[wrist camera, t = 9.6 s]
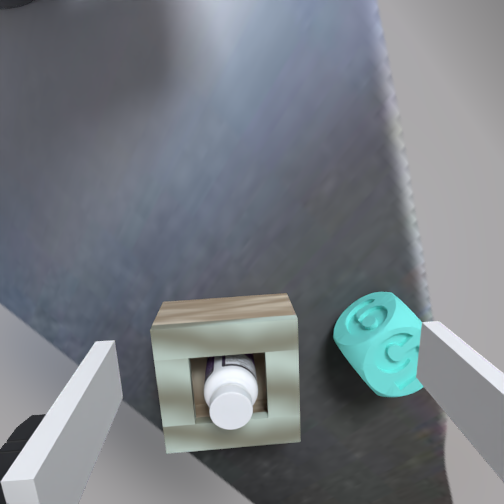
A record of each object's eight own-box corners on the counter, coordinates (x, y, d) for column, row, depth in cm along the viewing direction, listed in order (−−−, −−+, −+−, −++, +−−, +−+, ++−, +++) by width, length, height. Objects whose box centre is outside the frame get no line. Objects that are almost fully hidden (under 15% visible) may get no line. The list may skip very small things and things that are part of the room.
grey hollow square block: (163, 301, 41) (150, 330, 34) (286, 293, 42) (297, 319, 35) (176, 409, 45) (166, 453, 38) (289, 399, 45) (300, 441, 38)
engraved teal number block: (363, 368, 45) (391, 412, 37) (324, 324, 43) (345, 360, 35) (416, 328, 44) (456, 364, 36) (378, 281, 42) (412, 308, 34)
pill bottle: (223, 384, 43) (221, 446, 34) (198, 350, 42) (189, 404, 33) (262, 361, 43) (271, 418, 34) (238, 326, 42) (240, 375, 32)
